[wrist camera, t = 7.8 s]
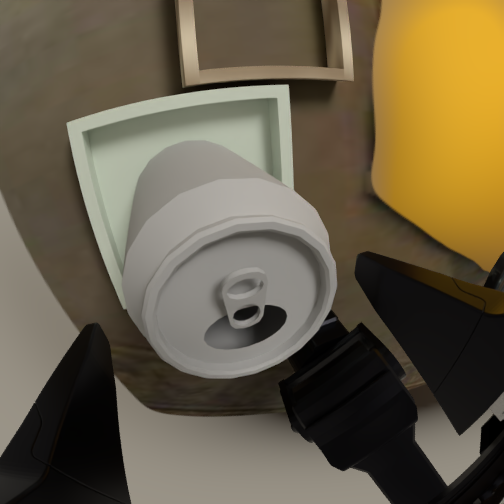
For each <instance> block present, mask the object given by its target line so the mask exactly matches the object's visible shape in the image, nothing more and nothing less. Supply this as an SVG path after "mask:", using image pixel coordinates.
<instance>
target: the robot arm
mask: <svg viewBox="0 0 504 504" xmlns="http://www.w3.org/2000/svg"><path fill="white" fill-rule="evenodd" d="M355 277H356V280H357V281H358V283H359V285H360V286H361V288H362V290H363V291H364V293H365V294H366V296H367V298H368V299H369V301H370V303H371V305H372V306H373V308H374V309H375V311H376V312H377V314H378V315H379V316H380V318H381V319H382V320H383V322H384V323H385V325H386V326H387V327H388V329H389V330H390V331H391V333H392V334H393V336H394V337H395V338H396V340H397V341H398V343H399V344H400V346H401V347H402V348H403V350H404V351H405V353H406V354H407V356H408V357H409V358H410V360H411V361H412V363H413V364H414V366H415V367H416V369H417V370H418V372H419V373H420V375H421V376H422V378H423V379H424V381H425V382H426V384H427V385H428V387H429V388H430V390H431V391H432V393H433V394H434V396H435V398H436V399H437V401H438V402H439V404H440V406H441V407H442V409H443V410H444V412H445V414H446V415H447V417H448V419H449V420H450V422H451V424H452V425H453V427H454V428H455V430H456V432H457V433H458V435H459V436H460V435H461V434H462V433H464V432H465V431H466V430H467V429H468V428H469V427H470V426H471V425H472V424H473V423H474V422H475V421H476V420H478V418H480V416H482V415H483V413H485V412H486V410H488V408H489V409H490V410H491V411H492V412H493V415H492V416H491V417H490V418H489V420H488V421H487V422H486V423H485V424H484V425H483V426H482V427H481V442H480V457H479V458H478V459H477V460H476V461H475V462H474V463H473V464H472V465H471V466H470V467H469V468H468V469H467V470H465V471H464V472H463V473H462V474H461V475H460V476H459V477H458V478H457V479H456V480H455V481H454V482H452V483H451V484H450V485H449V486H447V485H446V484H445V482H444V481H443V479H442V478H441V476H440V475H439V474H438V472H437V471H436V469H435V468H434V466H433V465H432V464H431V462H430V461H429V459H428V458H427V457H426V455H425V454H424V452H423V451H422V450H421V448H420V447H419V445H418V444H417V443H416V441H415V423H416V422H417V420H418V416H417V407H416V405H415V402H414V399H413V397H412V396H411V394H410V393H409V392H408V390H407V389H406V387H405V386H404V385H403V383H402V382H401V380H402V379H404V378H405V377H406V373H405V371H404V370H403V368H402V366H401V365H400V363H399V362H398V361H397V359H396V358H395V357H394V355H393V354H392V353H391V352H390V351H389V349H388V348H387V347H386V346H385V345H384V344H383V343H382V342H381V341H380V340H379V339H378V338H377V337H376V336H375V335H374V334H373V333H372V332H371V331H370V330H369V329H368V328H367V327H366V326H365V325H364V324H363V323H362V322H361V323H359V324H358V325H357V326H356V328H355V329H354V330H352V331H351V332H350V333H349V332H348V331H347V329H346V328H345V327H344V326H343V324H342V323H341V322H340V321H339V320H338V317H337V316H336V314H335V313H334V312H333V311H332V310H330V311H329V313H328V315H327V316H326V318H325V320H324V321H323V323H322V325H321V326H320V328H319V330H318V331H317V332H316V333H315V334H314V336H313V337H312V338H311V339H310V340H309V341H308V342H307V343H306V344H305V345H304V346H303V347H302V348H301V349H300V350H298V351H297V352H295V353H294V354H292V355H291V356H289V357H288V360H289V361H290V363H291V365H292V367H293V368H294V370H295V372H296V373H294V374H293V375H291V376H290V377H288V378H287V379H285V380H284V379H283V380H282V381H280V382H279V383H278V384H279V387H280V393H281V396H282V399H283V402H284V405H285V408H286V412H287V414H288V418H289V421H290V423H291V428H292V430H293V431H294V432H296V433H300V434H301V436H302V437H303V438H304V439H305V440H307V441H308V442H311V443H313V442H315V443H316V445H317V446H318V447H319V449H320V450H321V451H322V453H323V454H324V456H325V457H326V458H327V460H328V462H329V463H330V464H331V466H333V467H335V468H337V469H340V470H341V471H345V470H347V469H349V468H353V469H357V470H360V471H363V472H366V473H368V474H369V476H370V477H371V478H372V479H373V480H374V482H375V483H376V485H377V486H378V487H379V488H380V490H381V491H382V492H383V494H384V495H385V496H386V498H387V499H388V500H389V501H390V503H391V504H504V292H501V291H497V290H494V289H490V288H486V287H482V286H479V285H475V284H472V283H468V282H465V281H462V280H459V279H456V278H453V277H452V278H451V277H450V276H447V275H444V274H440V273H437V272H434V271H431V270H428V269H425V268H422V267H418V266H415V265H412V264H409V263H406V262H402V261H399V260H396V259H393V258H389V257H386V256H383V255H379V254H376V253H373V252H369V251H366V252H363V253H360V254H358V256H357V259H356V266H355ZM0 504H131V500H130V495H129V491H128V486H127V480H126V474H125V469H124V463H123V456H122V449H121V440H120V432H119V422H118V411H117V397H116V386H115V379H114V372H113V365H112V358H111V350H110V344H109V341H108V339H107V337H106V336H105V334H104V332H103V330H102V328H101V327H100V325H99V324H98V323H92V324H87V325H86V326H85V327H84V328H83V330H82V331H81V332H80V334H79V335H78V337H77V338H76V340H75V341H74V342H73V344H72V346H71V347H70V348H69V350H68V351H67V353H66V354H65V356H64V357H63V359H62V360H61V362H60V363H59V365H58V366H57V368H56V369H55V371H54V372H53V374H52V376H51V377H50V378H49V380H48V381H47V383H46V385H45V386H44V388H43V389H42V391H41V393H40V394H39V396H38V398H37V399H36V401H35V403H34V404H33V406H32V408H31V409H30V411H29V413H28V415H27V416H26V418H25V419H24V421H23V423H22V424H21V426H20V427H19V429H18V431H17V432H16V434H15V435H14V437H13V438H12V440H11V441H10V443H9V445H8V446H7V447H6V449H5V451H4V452H3V454H2V455H1V457H0Z"/></svg>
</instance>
